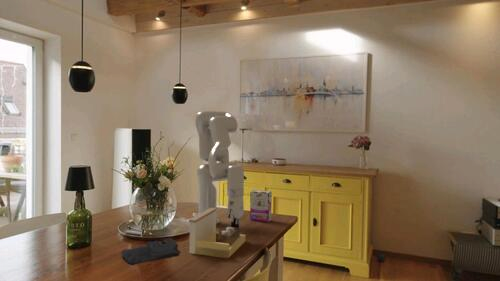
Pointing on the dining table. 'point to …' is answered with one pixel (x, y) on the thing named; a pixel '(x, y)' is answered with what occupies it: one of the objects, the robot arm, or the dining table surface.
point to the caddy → (228, 235)
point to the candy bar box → (260, 205)
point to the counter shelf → (209, 236)
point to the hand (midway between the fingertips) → (234, 232)
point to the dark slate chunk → (151, 251)
